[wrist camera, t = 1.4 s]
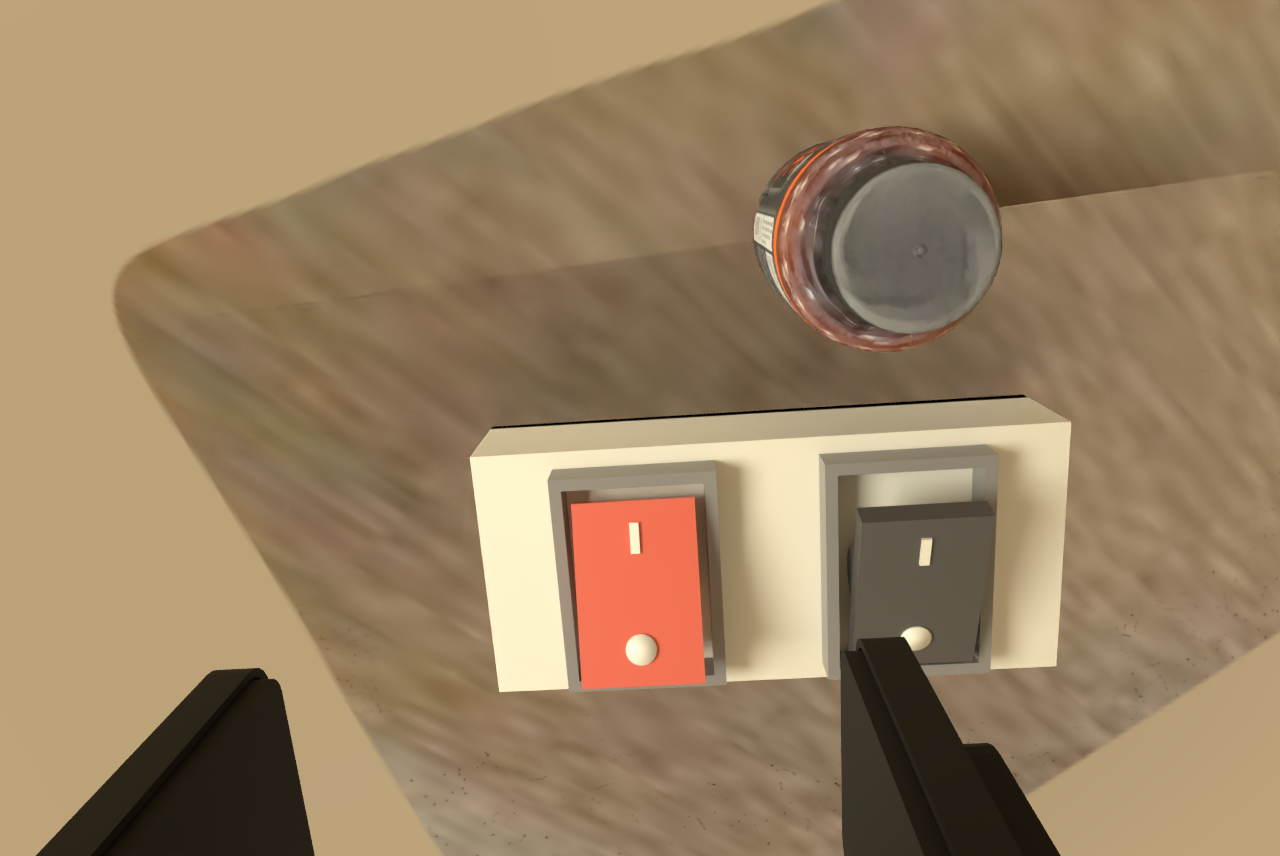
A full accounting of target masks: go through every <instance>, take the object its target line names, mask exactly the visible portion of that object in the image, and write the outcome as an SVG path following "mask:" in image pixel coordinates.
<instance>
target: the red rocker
mask: <svg viewBox="0 0 1280 856" xmlns="http://www.w3.org/2000/svg"><path fill="white" fill-rule="evenodd" d="M571 514H572V531H573V547H574V564H575V580H576V597H577V614H578V630H579V647H580V664H581V680H582V689H598V688H620V687H642V686H663V685H685V684H706V681H705V664H704V647H703V631H702V614H701V597H700V581H699V564H698V547H697V531H696V514H695V497H694V495H691V496H673V497H655V498H638V499H620V500H602V501H584V502H573V503H572V504H571Z"/></svg>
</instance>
